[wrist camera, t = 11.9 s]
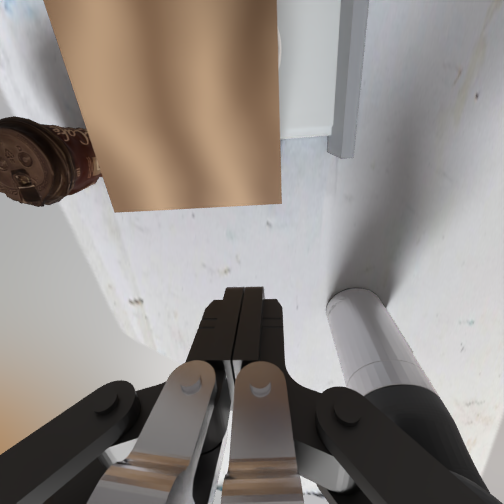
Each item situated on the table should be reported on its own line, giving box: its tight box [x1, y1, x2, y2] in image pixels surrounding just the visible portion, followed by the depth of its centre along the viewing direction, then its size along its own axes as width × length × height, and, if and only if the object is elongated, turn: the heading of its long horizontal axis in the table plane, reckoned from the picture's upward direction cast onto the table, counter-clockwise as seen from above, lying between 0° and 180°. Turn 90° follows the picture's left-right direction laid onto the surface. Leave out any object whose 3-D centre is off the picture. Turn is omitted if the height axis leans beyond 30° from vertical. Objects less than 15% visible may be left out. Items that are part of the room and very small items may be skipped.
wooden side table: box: [43, 0, 282, 213], centre depth 22 cm, size 14×22×16 cm, turn 5°
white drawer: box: [277, 0, 369, 159], centre depth 25 cm, size 20×18×8 cm
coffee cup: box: [0, 117, 103, 207], centre depth 29 cm, size 9×8×13 cm
